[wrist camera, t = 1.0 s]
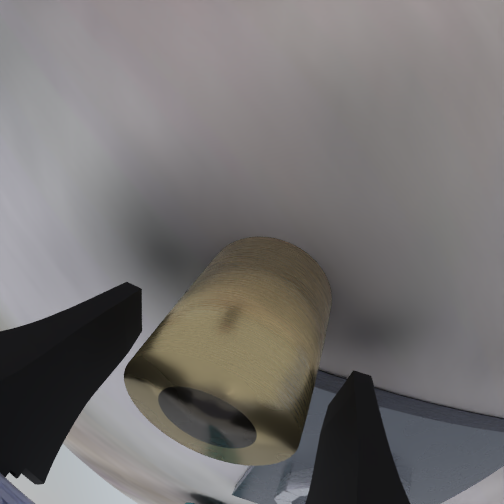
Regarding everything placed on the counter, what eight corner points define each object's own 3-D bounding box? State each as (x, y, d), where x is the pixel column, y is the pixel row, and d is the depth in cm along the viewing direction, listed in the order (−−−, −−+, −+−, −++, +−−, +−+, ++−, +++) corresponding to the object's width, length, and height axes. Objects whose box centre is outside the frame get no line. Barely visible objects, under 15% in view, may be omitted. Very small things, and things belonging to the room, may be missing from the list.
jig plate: (538, 424, 11) (545, 456, 9) (384, 520, 22) (380, 540, 20) (313, 368, 14) (302, 412, 12) (235, 486, 24) (226, 507, 22)
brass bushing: (352, 265, 11) (332, 409, 6) (307, 357, 14) (269, 479, 9) (219, 218, 12) (116, 319, 7) (201, 317, 14) (130, 419, 9)
